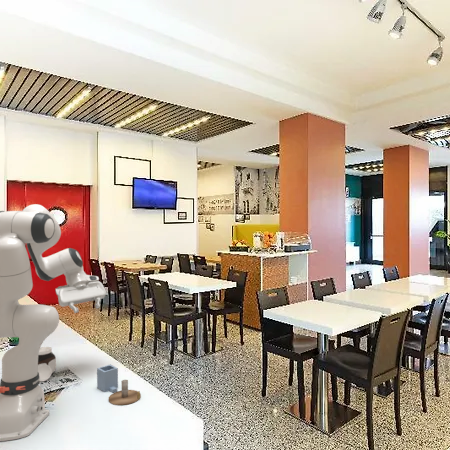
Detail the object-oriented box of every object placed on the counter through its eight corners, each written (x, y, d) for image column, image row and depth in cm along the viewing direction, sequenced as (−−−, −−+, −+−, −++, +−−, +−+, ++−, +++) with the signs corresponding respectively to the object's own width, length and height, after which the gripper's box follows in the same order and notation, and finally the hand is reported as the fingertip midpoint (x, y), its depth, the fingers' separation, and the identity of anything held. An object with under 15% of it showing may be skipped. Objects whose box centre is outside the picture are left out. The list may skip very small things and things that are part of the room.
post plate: (102, 398, 148) (102, 381, 148) (130, 388, 156) (130, 372, 156) (118, 408, 139) (118, 390, 139) (146, 397, 148) (146, 380, 148)
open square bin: (97, 387, 157) (97, 368, 157) (110, 383, 161) (110, 364, 161) (108, 394, 151) (107, 374, 151) (121, 389, 155) (121, 370, 155)
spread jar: (48, 370, 177) (48, 344, 177) (64, 374, 171) (63, 348, 171) (23, 379, 166) (22, 352, 166) (39, 384, 161) (38, 357, 160)
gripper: (55, 283, 164) (65, 311, 158) (101, 275, 177) (111, 301, 171) (52, 291, 168) (61, 318, 161) (97, 283, 181) (107, 308, 175)
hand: (87, 309), depth 167 cm, fingers open, 8 cm apart
